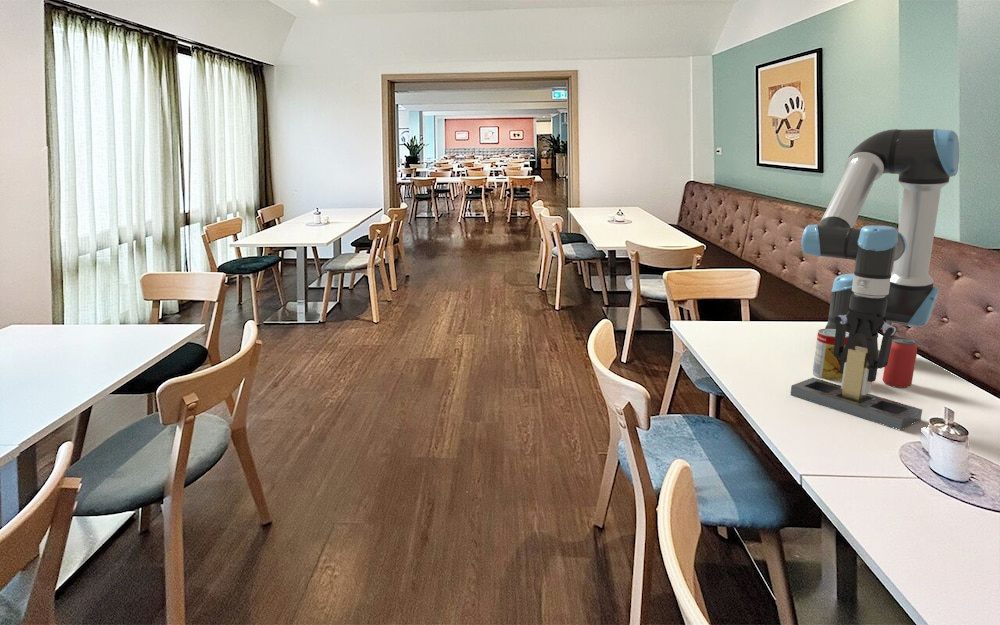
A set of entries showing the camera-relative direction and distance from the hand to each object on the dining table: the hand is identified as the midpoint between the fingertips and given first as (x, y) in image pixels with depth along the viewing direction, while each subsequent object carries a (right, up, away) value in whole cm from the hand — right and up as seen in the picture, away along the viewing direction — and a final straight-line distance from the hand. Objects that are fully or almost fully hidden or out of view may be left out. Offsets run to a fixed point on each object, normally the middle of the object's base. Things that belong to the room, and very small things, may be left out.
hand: (855, 390), depth 161 cm
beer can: (+19, 0, +16) cm, 25 cm away
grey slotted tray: (0, -4, +1) cm, 4 cm away
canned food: (+5, +1, +23) cm, 23 cm away
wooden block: (0, -2, 0) cm, 2 cm away
